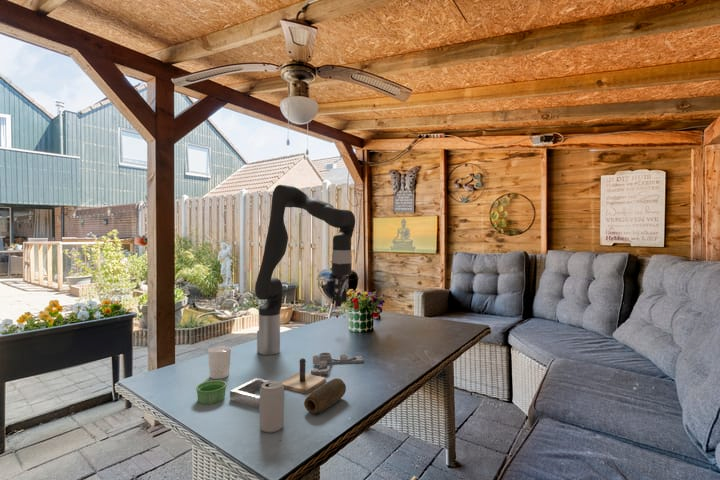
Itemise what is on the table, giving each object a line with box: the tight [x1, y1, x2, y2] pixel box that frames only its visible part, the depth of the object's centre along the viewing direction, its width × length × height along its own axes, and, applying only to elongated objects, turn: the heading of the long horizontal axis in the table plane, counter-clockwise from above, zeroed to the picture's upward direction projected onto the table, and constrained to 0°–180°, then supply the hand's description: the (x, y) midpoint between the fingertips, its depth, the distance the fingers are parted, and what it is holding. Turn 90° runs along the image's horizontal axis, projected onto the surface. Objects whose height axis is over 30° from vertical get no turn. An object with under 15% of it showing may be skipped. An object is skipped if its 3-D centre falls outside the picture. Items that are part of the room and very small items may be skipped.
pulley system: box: [310, 352, 364, 375], centre depth 150 cm, size 27×5×15 cm
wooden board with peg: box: [281, 357, 327, 395], centre depth 130 cm, size 12×12×9 cm
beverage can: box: [259, 380, 285, 434], centre depth 100 cm, size 6×6×12 cm
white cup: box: [207, 345, 232, 380], centre depth 137 cm, size 8×8×10 cm
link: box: [229, 377, 284, 409], centre depth 119 cm, size 12×12×3 cm
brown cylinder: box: [303, 378, 347, 414], centre depth 113 cm, size 15×7×7 cm, turn 152°
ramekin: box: [195, 379, 227, 405], centre depth 118 cm, size 9×9×4 cm
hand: (341, 304), depth 140 cm, fingers open, 8 cm apart
